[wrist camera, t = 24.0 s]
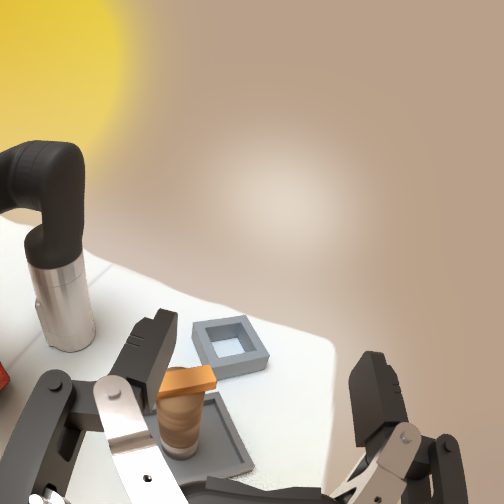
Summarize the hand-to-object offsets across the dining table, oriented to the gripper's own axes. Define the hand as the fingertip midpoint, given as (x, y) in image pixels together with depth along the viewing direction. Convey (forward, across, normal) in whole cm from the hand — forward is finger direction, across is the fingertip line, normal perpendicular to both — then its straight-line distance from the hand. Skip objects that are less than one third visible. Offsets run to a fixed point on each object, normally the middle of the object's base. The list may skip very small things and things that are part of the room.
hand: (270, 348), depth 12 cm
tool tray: (+7, +5, +32) cm, 33 cm away
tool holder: (+26, +1, +32) cm, 41 cm away
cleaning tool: (+7, +5, +31) cm, 32 cm away
